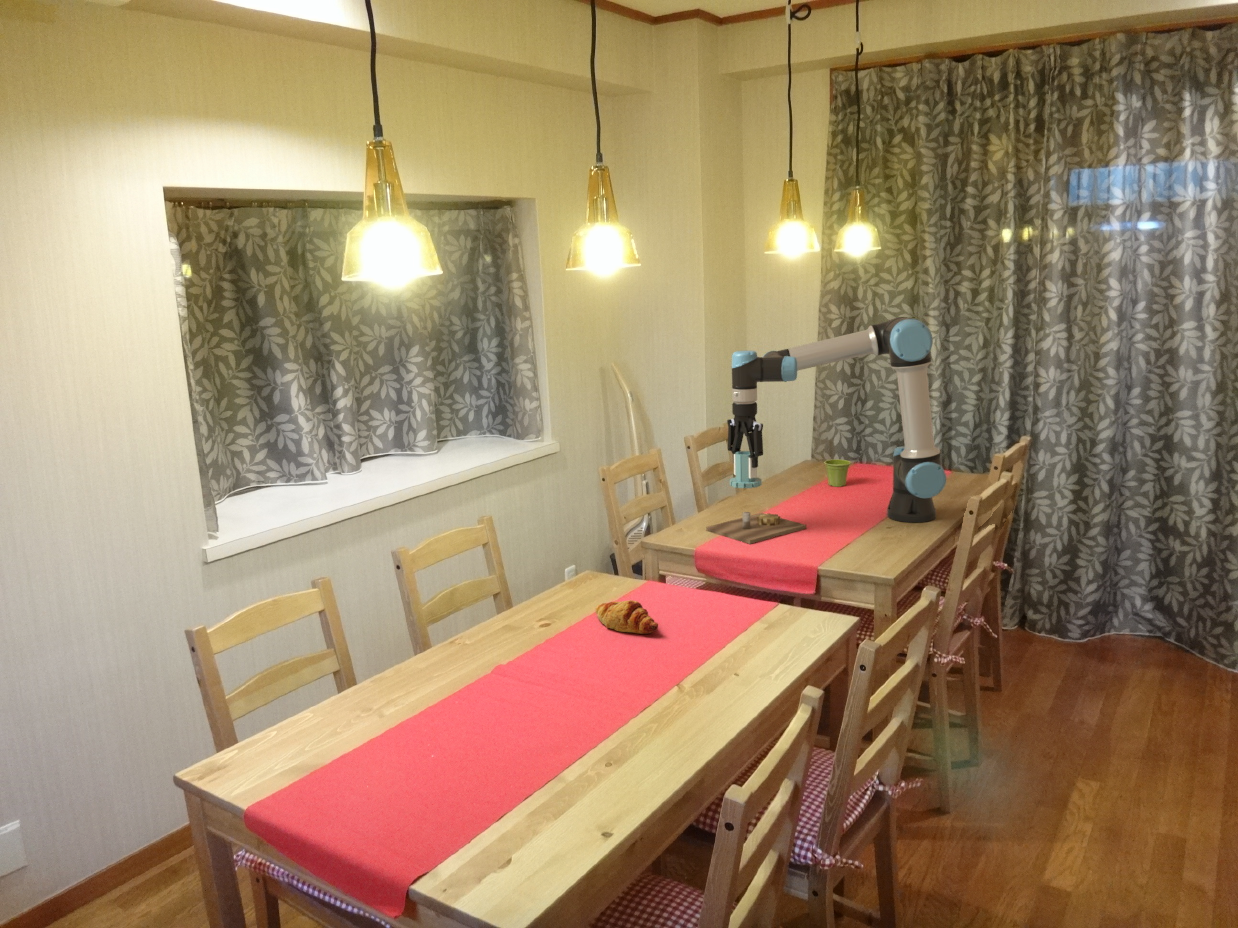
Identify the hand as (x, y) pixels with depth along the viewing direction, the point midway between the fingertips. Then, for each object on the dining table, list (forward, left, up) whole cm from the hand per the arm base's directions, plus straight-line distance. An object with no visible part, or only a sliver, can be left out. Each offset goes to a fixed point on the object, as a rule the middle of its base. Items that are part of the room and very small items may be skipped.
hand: (745, 475), depth 304 cm
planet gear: (0, 0, -3) cm, 3 cm away
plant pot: (+21, -65, -18) cm, 71 cm away
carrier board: (0, -4, -18) cm, 19 cm away
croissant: (-38, +74, -19) cm, 85 cm away
